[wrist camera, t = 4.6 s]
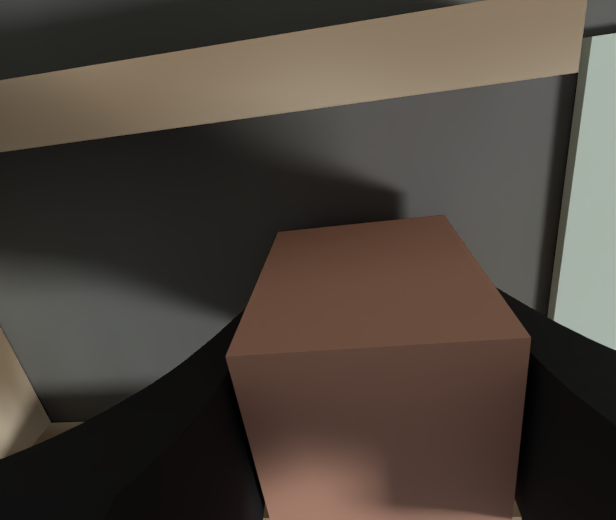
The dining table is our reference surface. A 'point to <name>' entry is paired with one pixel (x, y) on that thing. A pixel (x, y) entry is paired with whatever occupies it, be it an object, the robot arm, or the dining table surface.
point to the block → (381, 376)
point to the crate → (274, 100)
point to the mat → (589, 203)
